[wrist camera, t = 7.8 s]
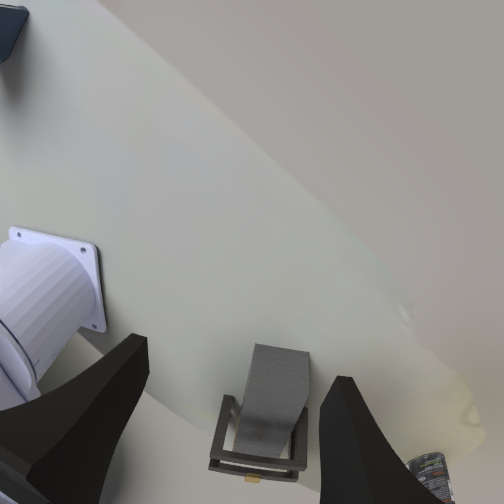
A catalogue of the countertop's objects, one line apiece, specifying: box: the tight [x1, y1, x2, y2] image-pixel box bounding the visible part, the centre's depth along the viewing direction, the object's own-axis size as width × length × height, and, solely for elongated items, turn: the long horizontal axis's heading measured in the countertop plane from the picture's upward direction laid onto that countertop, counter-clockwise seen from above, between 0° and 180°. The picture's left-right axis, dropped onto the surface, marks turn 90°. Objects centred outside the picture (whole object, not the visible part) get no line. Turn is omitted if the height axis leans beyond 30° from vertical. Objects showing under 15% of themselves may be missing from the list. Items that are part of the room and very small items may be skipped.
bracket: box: [210, 395, 308, 471], centre depth 23 cm, size 7×1×6 cm, turn 82°
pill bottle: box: [405, 453, 455, 504], centre depth 25 cm, size 6×6×11 cm
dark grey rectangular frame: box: [208, 415, 299, 483], centre depth 24 cm, size 7×1×7 cm, turn 82°
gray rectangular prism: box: [232, 343, 310, 458], centre depth 23 cm, size 4×11×4 cm, turn 172°
